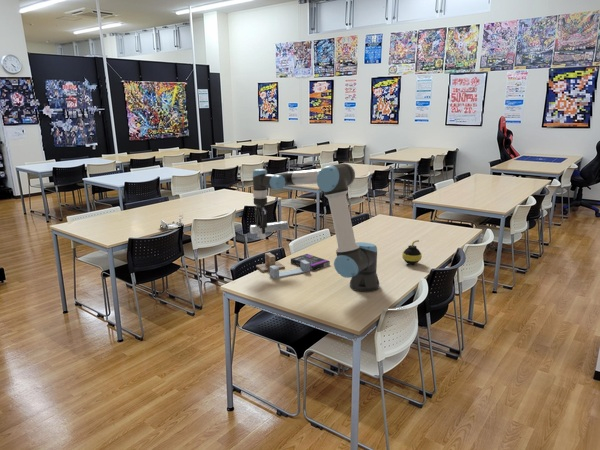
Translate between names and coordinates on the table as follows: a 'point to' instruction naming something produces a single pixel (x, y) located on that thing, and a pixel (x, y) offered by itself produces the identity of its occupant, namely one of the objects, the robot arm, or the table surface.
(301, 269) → the rack
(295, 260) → the box
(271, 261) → the stand
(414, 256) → the bomb
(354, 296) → the table surface
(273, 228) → the bar
